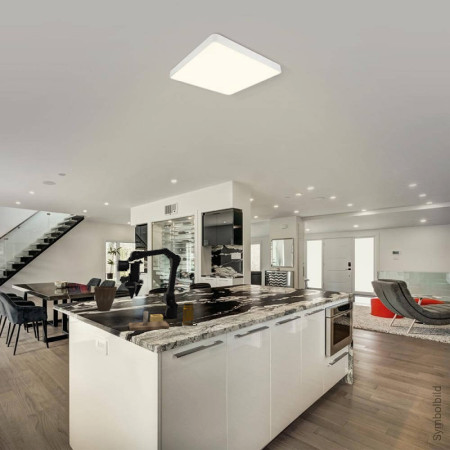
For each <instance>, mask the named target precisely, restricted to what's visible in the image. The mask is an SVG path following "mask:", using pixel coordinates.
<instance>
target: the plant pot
mask: <svg viewBox="0 0 450 450" xmlns="http://www.w3.org/2000/svg"><path fill="white" fill-rule="evenodd" d="M117 289H118V287H117V286H114V285H113V286H112V285H106V286H105V285H99V286H94V287H93V291H94V300H95V303H96V304H95V305H96V306H97V310H98V311H99V312H109V311H111V308H112V306H113V305H114V301H115V298H116V293H117Z"/></svg>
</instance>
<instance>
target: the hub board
mask: <svg viewBox="0 0 450 450" xmlns="http://www.w3.org/2000/svg"><path fill="white" fill-rule="evenodd" d="M142 316H143V318H142V322H140V321H139V322H129V323H128V328H129V332H133V331H134V332H135V331H136V332H137V331H149V330H167V329H170V325H169V323H168V322H167V321H166V320H163V321H157V322H150V321H148V320H149V311H148V310H145V311H143V315H142Z"/></svg>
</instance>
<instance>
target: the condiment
mask: <svg viewBox="0 0 450 450" xmlns="http://www.w3.org/2000/svg"><path fill="white" fill-rule="evenodd" d="M182 312H183V313H182V323H181V326H183V327H184V326H189V327H190V326H193V327H194V326H195V325H193V323H194V314H195V308H194V303H193V302H184V304H183V311H182Z"/></svg>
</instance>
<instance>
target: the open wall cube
mask: <svg viewBox="0 0 450 450" xmlns="http://www.w3.org/2000/svg"><path fill="white" fill-rule="evenodd" d="M157 321H164V316H163V314H161V313H160V314H159V313H157V314H156V313H155V314H149V322H157Z"/></svg>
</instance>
